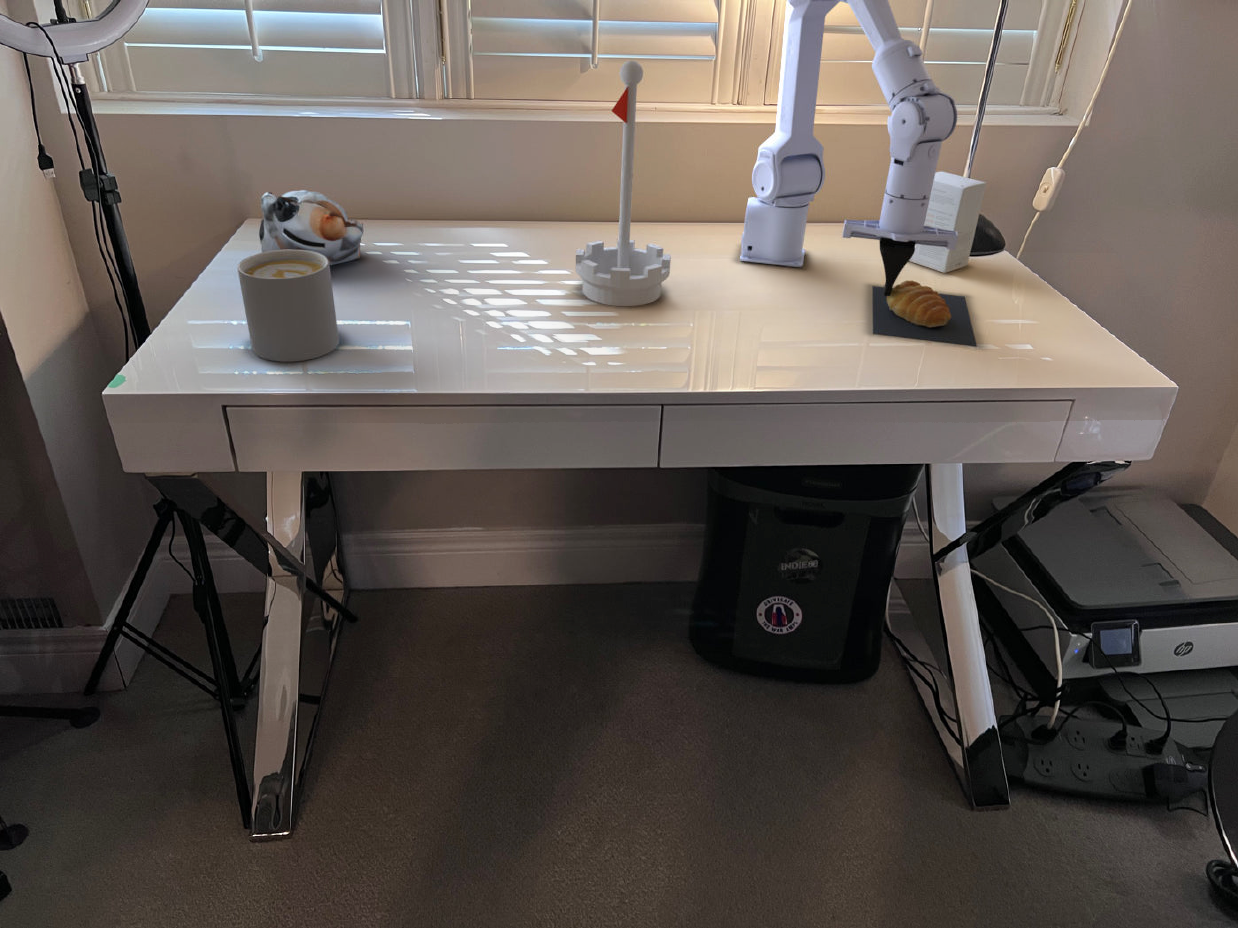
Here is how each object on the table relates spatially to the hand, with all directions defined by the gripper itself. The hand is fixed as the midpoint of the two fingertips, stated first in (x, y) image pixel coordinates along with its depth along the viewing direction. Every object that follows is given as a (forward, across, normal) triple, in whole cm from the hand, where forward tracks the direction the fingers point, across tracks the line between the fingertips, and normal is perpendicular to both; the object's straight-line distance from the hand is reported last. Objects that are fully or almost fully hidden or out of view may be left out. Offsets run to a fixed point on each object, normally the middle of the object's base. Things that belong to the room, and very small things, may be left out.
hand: (887, 293), depth 128 cm
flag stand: (+3, -36, -5) cm, 36 cm away
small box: (+2, +8, +23) cm, 24 cm away
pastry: (+2, +4, -1) cm, 5 cm away
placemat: (+2, +5, 0) cm, 6 cm away
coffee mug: (+3, -70, -33) cm, 77 cm away
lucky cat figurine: (+3, -80, -9) cm, 81 cm away
